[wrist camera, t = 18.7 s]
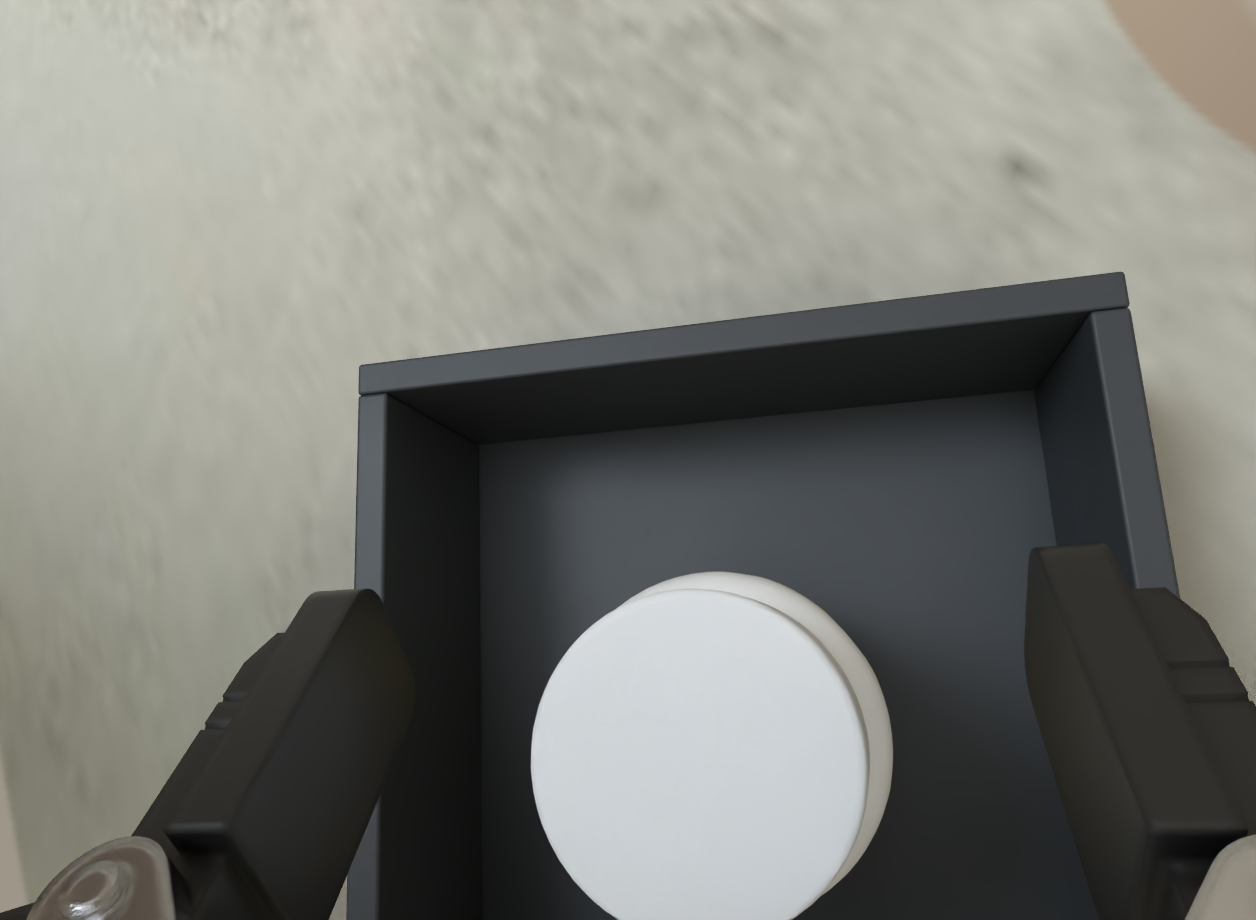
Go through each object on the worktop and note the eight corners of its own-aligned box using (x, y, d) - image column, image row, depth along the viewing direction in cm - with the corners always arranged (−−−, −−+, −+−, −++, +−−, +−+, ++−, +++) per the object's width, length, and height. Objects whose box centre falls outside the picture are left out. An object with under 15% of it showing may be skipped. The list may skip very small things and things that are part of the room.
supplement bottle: (600, 676, 19) (427, 691, 11) (784, 550, 19) (739, 473, 11) (729, 887, 18) (634, 1071, 10) (929, 753, 18) (999, 833, 10)
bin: (1160, 1073, 16) (1294, 1250, 11) (467, 1039, 19) (338, 1171, 14) (1054, 367, 19) (1124, 269, 14) (465, 428, 22) (357, 364, 17)
